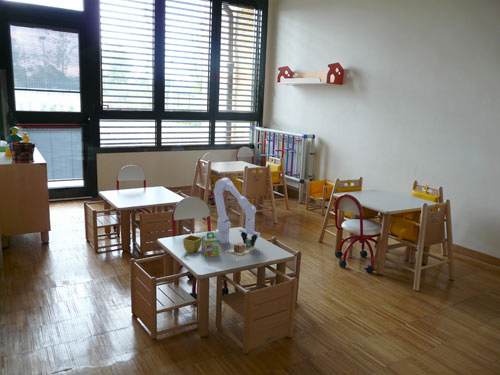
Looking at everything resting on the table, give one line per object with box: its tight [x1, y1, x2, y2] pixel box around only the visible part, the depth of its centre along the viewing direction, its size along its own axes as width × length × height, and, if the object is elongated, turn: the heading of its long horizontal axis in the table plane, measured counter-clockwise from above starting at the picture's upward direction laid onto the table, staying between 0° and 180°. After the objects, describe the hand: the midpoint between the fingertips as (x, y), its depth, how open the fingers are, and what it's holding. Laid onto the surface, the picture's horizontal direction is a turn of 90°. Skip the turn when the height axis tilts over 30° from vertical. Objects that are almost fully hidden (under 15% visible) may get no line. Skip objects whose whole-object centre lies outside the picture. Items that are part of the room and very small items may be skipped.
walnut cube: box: [233, 241, 246, 253], centre depth 266 cm, size 5×5×5 cm
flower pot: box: [182, 234, 202, 254], centre depth 266 cm, size 9×9×9 cm
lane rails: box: [218, 246, 260, 262], centre depth 267 cm, size 14×26×2 cm, turn 149°
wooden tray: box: [227, 236, 257, 257], centre depth 270 cm, size 10×19×6 cm, turn 149°
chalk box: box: [201, 231, 221, 258], centre depth 260 cm, size 9×9×15 cm
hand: (249, 244), depth 276 cm, fingers closed on wooden tray, 6 cm apart
